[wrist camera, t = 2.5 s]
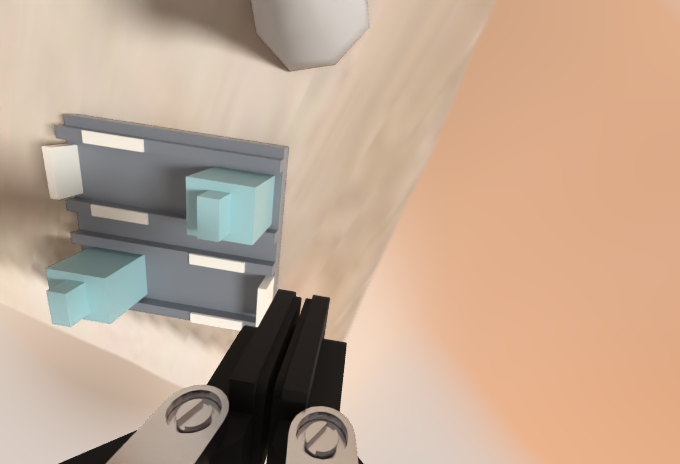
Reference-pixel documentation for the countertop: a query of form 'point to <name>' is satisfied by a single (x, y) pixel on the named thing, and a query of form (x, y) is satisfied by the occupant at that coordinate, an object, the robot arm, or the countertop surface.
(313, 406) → the robot arm
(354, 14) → the flask
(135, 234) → the switch bank
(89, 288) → the tab
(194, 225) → the tab
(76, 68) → the countertop surface
